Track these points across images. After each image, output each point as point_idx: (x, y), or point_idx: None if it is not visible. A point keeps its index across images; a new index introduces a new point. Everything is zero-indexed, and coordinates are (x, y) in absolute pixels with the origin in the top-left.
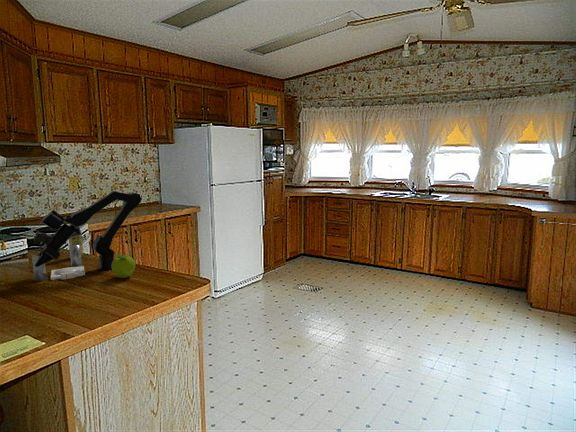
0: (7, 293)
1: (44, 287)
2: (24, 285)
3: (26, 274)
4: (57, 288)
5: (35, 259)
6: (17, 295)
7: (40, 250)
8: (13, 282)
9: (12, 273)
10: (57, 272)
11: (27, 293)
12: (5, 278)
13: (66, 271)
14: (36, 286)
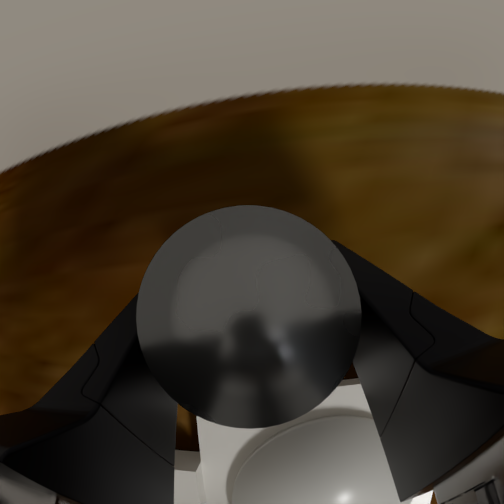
0: (55, 158)
1: (50, 340)
2: (156, 212)
3: (467, 190)
4: (15, 397)
5: (153, 278)
6: (3, 215)
7: (462, 368)
8: (287, 130)
9: (499, 121)
10: (296, 441)
11: (4, 257)
12: (410, 88)
13: (288, 497)
14: (89, 294)
